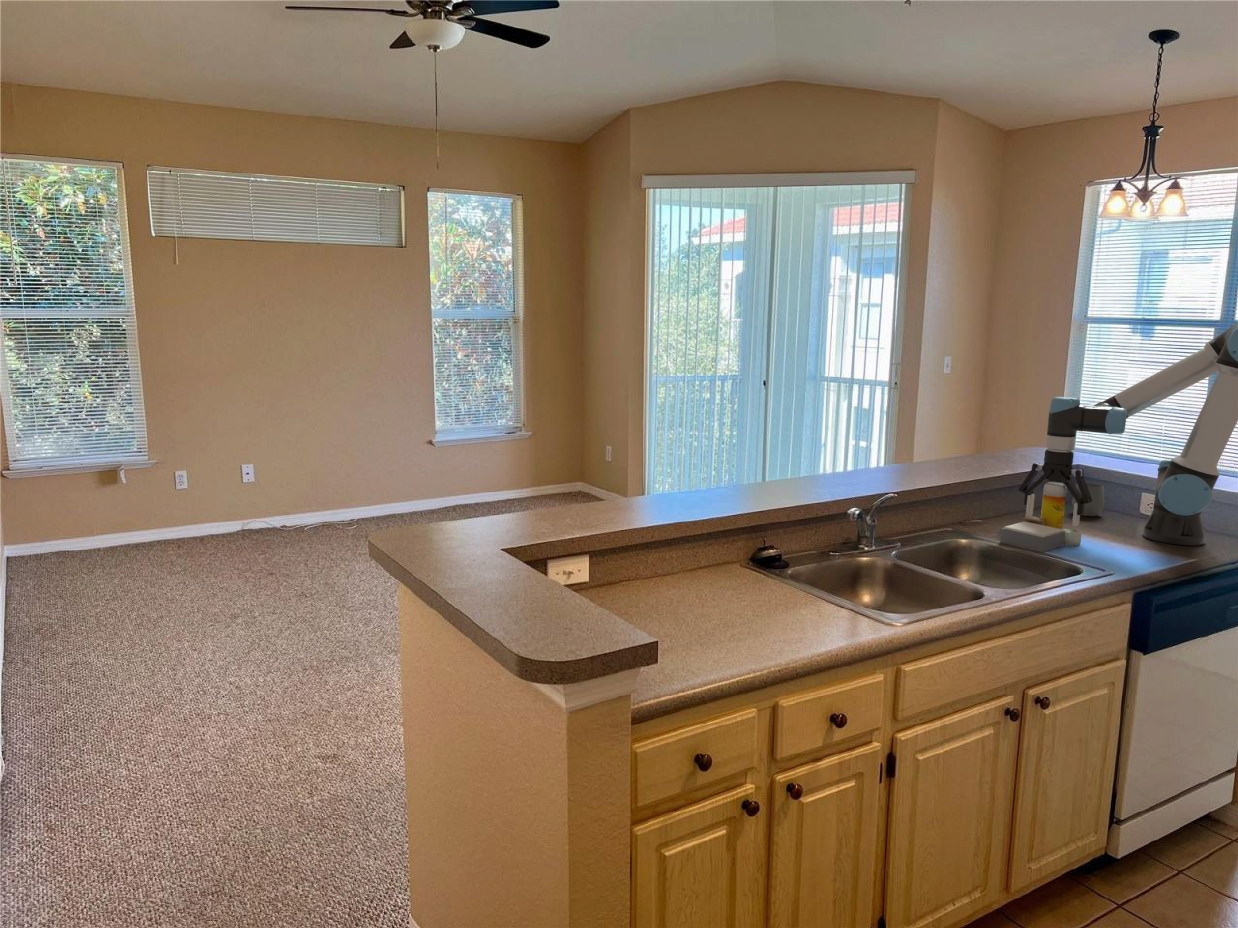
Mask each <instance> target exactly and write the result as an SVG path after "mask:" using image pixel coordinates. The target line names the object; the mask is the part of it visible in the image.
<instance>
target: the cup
mask: <svg viewBox="0 0 1238 928" xmlns="http://www.w3.org/2000/svg"><path fill="white" fill-rule="evenodd" d="M1085 482H1086V485H1087V487H1088V490H1089V492H1090V495H1091V498H1092V502H1091V503H1086V504H1085V505H1084V513H1083V515H1082V516H1083V517H1084V516H1085V517H1098V515H1100V513H1101V512H1102V511H1103V509H1104V507H1105V489H1104V485H1102V484H1100V483H1096V482H1087V481H1085ZM1075 486H1076V487H1077V489H1078V490H1079V492H1080V489H1079V487H1078V484H1077V483H1076V485H1075ZM1080 493H1081V492H1080ZM1076 503H1077V502H1076V500H1075V499H1074V497H1073V496H1072V499H1071V504H1072V507H1073V508H1074V504H1076Z"/></svg>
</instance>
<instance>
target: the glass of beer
mask: <svg viewBox="0 0 1238 928" xmlns="http://www.w3.org/2000/svg"><path fill="white" fill-rule="evenodd" d="M1043 485H1044V486H1043V491H1042V500H1041V509H1040V510H1041V511H1040V517H1039V518H1046V520H1045V526H1048V527H1053V528H1058V529H1064V528H1063V526H1064V520H1065V519H1064V518H1065V510H1066V500H1067V494H1068V488H1067V487H1066V485H1064V484H1063V482H1056V481H1045V483H1044V484H1043Z"/></svg>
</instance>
